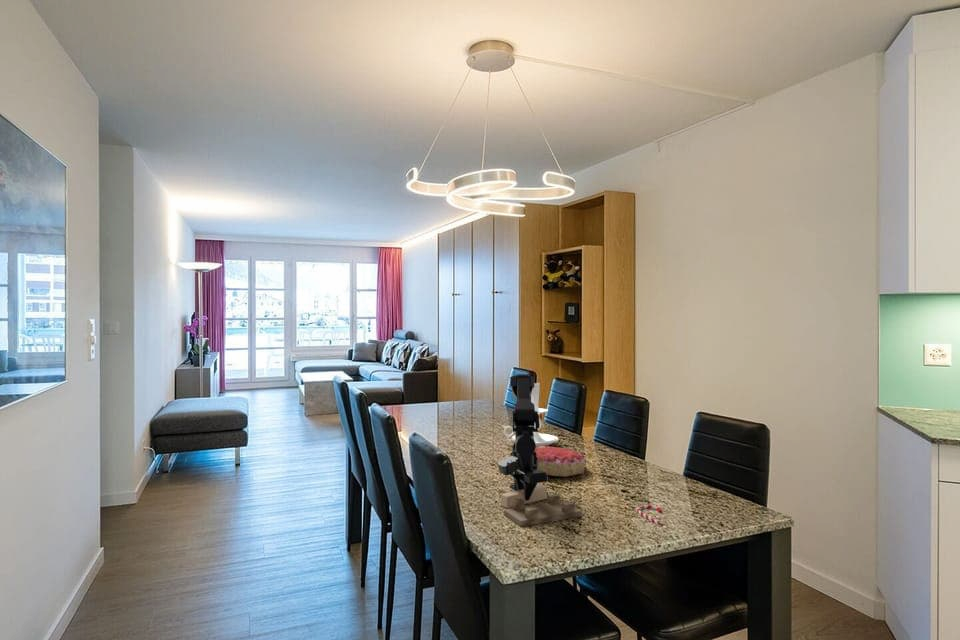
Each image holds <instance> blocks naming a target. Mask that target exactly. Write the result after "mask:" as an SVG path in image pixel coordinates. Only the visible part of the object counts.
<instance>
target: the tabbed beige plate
mask: <svg viewBox="0 0 960 640" xmlns="http://www.w3.org/2000/svg"><path fill="white" fill-rule="evenodd" d="M546 500H547V503H546V502H545V503H539V504H534V505H532V504H531V505H526V506H525V504H524V500H522V499H515V500H512V507H511V508H505V509H503V516H505V518H508V519H509V520H510V521H512V522H514V523H515V524H516V525H518V526H519V527H528V526H533V525H537V524H543V523H549V522H556V521H562V520H567V519H573V518H575V519H576V518H580V517H583V510H581V509H579V508H577V507H576V506H575V505H576V504H575V503H574V502H573V501H565V500H560V494H557V493H550V494H547V498H546Z"/></svg>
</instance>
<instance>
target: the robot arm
mask: <svg viewBox="0 0 960 640" xmlns="http://www.w3.org/2000/svg"><path fill="white" fill-rule="evenodd" d="M534 384H535V376H532V375H530V374H529V373H517V374H514V375H512V376H510V377H509V388H510V389H511V395H512V396H513V399H515V403H514V410H512V413H511V414H512V415H511V416H512V417H511V418H512V419H511V420H512V426H511V427H512V429H511V431H512V430H513V432H514V435H515V441H514V443H513V445H512V448H511V451H512V452H510V453H509V457H508V456H507V457H506V458H504V459H501V460H500V461H498V462H497V468H498V471H499V473H500V474H503V476H506V477H508V476H511V478H513V484H510V485H509V488H511V489H513V491H517V490H522V489H524V494H525V500H529V499H530V497H531V495H532V493H533V491H534V489H535V487H536V486H538V484H540V483H546V482H548V481H549V480H548V479H549V478H548V477H549V475H547V474H546V473H545V472H544V471H542V470H540V469H539V470H537V463H538V457H537V456H536V452H535V448H536V444H535V440H534V433H533V432H538V433H539V430H540V429H539V427H540V425H539V418H540V414H539V415H538V412H537V411H535V406H534V404H533V403H532V402H531V395H532V388H534ZM534 425H535V426H534ZM535 427H536V428H535ZM540 428H541V427H540ZM538 429H539V430H538Z"/></svg>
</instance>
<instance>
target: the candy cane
mask: <svg viewBox="0 0 960 640" xmlns="http://www.w3.org/2000/svg"><path fill="white" fill-rule="evenodd" d="M643 510H655V511H657V513H659V514H660V513H661V514H662V513H663V510H662V508H660V507H659V506H656V505H650V504H648V505H647V504H645V505H640V506H638V507H636V509H635V511H636V514H637V515H639V516H640V517H642V518H643V519H644V520H646V521H647V522H650V523H652V524H655V525H657V526H660V527H661V526H663V522H661V521H660V520H657V519H655V518H653V517H651V516H649V515H648V514H646V513H644V512H643Z"/></svg>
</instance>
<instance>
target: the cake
mask: <svg viewBox="0 0 960 640" xmlns="http://www.w3.org/2000/svg"><path fill="white" fill-rule="evenodd" d="M535 452H536V456H537V457H538V463H537V470H539V469H540V470H542V471H544V472H545V473H546V474H547V475H548V476H550V477H557V478H562V479H563V478H564V479H565V478H567V477H570V476H576V475H577V476H578V475H581V474H584V472H585V466H586V463H585V462H586V461H585V456H584V455H583V454H581V453H580V452H578V451H576V450H574V449H571V450H570V449H569V448H566V447H558V446H557V447H556V446H550V445H547V446H538V447H536V448H535Z"/></svg>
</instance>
